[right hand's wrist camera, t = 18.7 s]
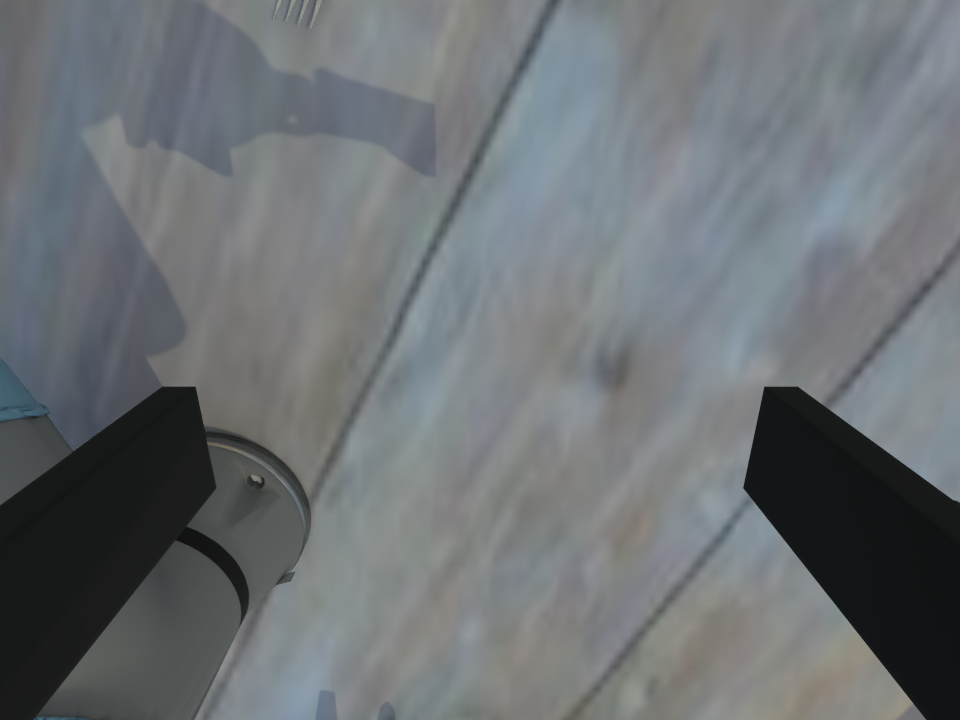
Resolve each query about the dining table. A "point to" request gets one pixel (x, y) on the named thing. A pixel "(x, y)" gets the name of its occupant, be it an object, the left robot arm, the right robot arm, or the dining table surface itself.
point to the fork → (305, 4)
